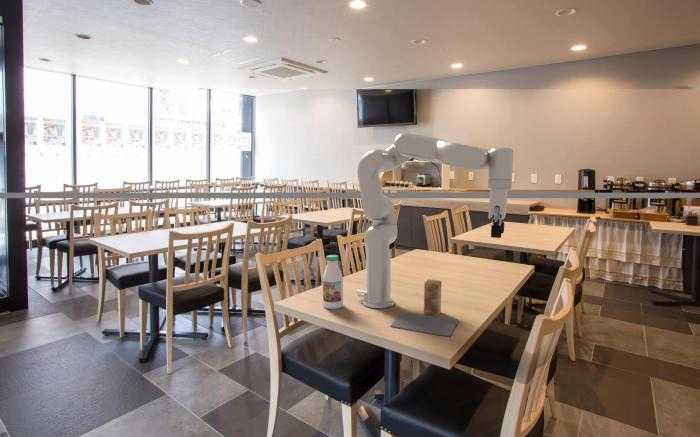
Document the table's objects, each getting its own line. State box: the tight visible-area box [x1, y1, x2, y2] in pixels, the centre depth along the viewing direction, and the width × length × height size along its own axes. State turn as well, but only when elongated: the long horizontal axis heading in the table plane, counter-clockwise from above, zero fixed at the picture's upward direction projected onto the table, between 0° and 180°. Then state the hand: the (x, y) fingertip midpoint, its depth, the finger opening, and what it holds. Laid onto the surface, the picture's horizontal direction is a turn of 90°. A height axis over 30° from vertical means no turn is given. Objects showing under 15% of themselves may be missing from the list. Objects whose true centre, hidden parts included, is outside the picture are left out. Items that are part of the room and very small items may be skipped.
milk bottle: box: [322, 254, 344, 310], centre depth 153 cm, size 8×8×20 cm
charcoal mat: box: [389, 311, 459, 338], centre depth 136 cm, size 20×14×1 cm
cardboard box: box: [423, 278, 442, 317], centre depth 145 cm, size 5×5×12 cm
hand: (497, 235), depth 135 cm, fingers open, 9 cm apart
